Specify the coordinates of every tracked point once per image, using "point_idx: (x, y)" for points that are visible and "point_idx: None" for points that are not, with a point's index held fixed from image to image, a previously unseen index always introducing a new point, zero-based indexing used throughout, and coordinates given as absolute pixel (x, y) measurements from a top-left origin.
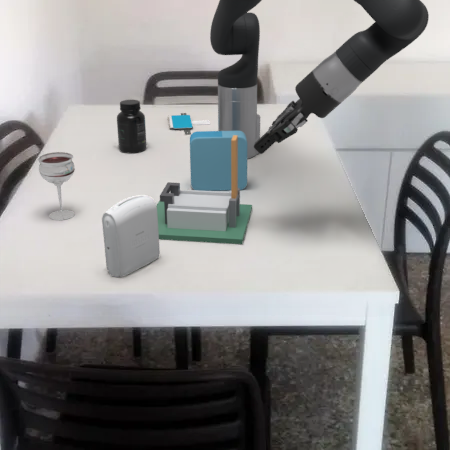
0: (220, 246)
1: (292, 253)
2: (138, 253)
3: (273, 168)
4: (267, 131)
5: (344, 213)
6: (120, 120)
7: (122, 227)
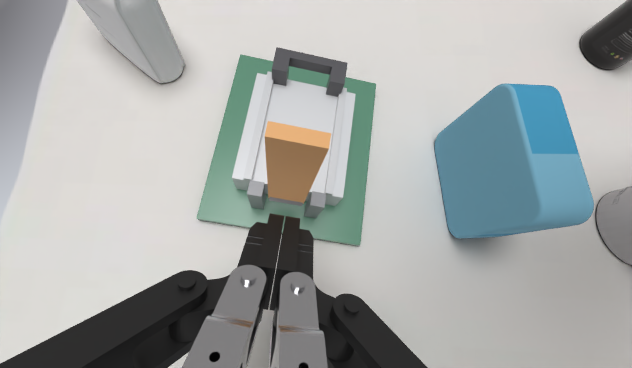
0: (195, 181)
1: None
2: (109, 36)
3: (570, 301)
4: (290, 268)
5: None
6: None
7: None
